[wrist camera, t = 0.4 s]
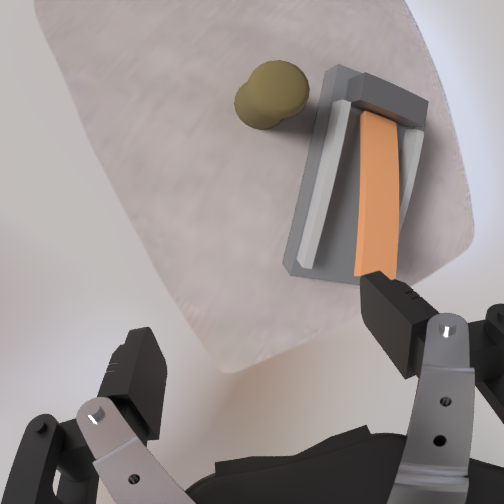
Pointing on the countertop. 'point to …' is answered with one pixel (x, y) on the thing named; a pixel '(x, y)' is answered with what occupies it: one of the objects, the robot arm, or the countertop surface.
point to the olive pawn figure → (272, 94)
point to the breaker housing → (347, 171)
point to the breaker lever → (378, 197)
